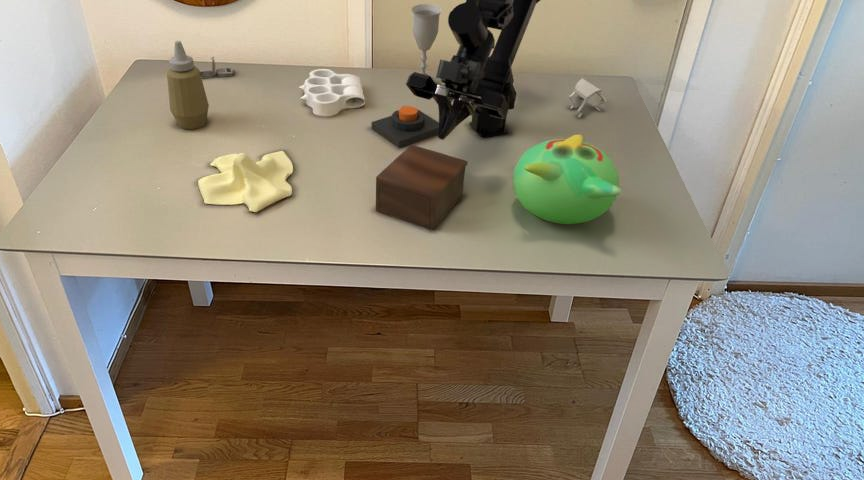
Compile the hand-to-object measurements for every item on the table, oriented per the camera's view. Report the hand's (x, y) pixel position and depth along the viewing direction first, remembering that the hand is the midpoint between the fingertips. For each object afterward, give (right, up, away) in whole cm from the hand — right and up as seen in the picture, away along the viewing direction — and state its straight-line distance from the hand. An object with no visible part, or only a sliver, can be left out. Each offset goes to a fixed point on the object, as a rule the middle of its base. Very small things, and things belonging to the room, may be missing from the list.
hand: (440, 138), depth 125 cm
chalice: (-1, +21, +40) cm, 45 cm away
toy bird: (+21, -14, -1) cm, 26 cm away
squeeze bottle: (-52, +8, +23) cm, 57 cm away
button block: (-5, +6, +22) cm, 24 cm away
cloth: (-36, -7, +7) cm, 37 cm away
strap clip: (-52, +23, +42) cm, 71 cm away
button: (-5, +8, +20) cm, 23 cm away
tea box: (-4, -12, +1) cm, 12 cm away
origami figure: (+36, +14, +33) cm, 51 cm away
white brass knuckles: (-23, +16, +34) cm, 43 cm away
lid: (-3, -7, -2) cm, 8 cm away
